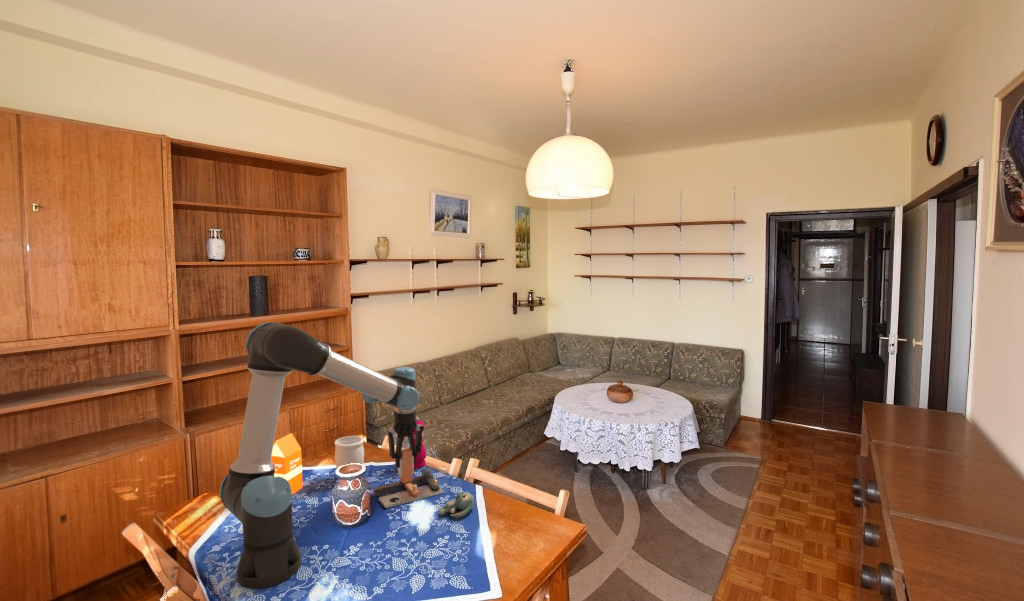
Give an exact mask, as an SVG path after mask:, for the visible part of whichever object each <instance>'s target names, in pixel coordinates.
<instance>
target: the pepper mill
mask: <svg viewBox="0 0 1024 601" xmlns="http://www.w3.org/2000/svg"><path fill="white" fill-rule="evenodd" d="M416 423H417V424H418V425H419V424H420V425H422V426H423V427H424V429H423V431H422V438H423V437H424V436H425V435H424V431H425V427H426V426H425V422H423V421H422V420H420V418H419V416H416ZM416 431H417V430H416V429H415V430H414V432H413V436H414V438H413V439H414V444H415V449H416ZM426 458H427V450H426V447H425V445H424V442H423V439H422V443H421V452H420V453H418V454H417V456H416V464H414V470H415V469H416V470H417V468H419V469H422V468H423V469H424V467H425V466H426Z"/></svg>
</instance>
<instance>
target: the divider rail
mask: <svg viewBox="0 0 1024 601" xmlns="http://www.w3.org/2000/svg"><path fill="white" fill-rule="evenodd" d="M410 482H411V484H412V485H417V487H419V486H418V485H420V486H423V485H422V484H424V485H426V484H425V483H428V484H427V485H430V486H431V487H432V488H433V489H434V490H435V489H438V488H439V486H440V485H439V484H438V479H436V478H434V475H433V473H431V470H430V469H428V468H426V469H421V475H419V476H415V477H412V481H410ZM406 483H409V482H406ZM403 489H404V490H408V489H407V488H406V487H405V483H402V481H401V480H398V481H397V482H390V483H387V484H383V485H380V486H376V487H373V488H372V496H373V497H374V498H377V497H381V496H385V495H388V494H387V493H389V494H392V493H391V492H393V493H396V492H395V491H397V492H400V491H399V490H401V491H404V490H403ZM384 494H385V495H384ZM380 495H381V496H380ZM376 496H377V497H376Z"/></svg>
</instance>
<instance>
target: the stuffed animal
mask: <svg viewBox="0 0 1024 601" xmlns="http://www.w3.org/2000/svg"><path fill="white" fill-rule="evenodd" d="M474 506H475V497H474V495H473V494H471V493H470V492H469V491H467V490H466V491H461V492H460V491H456V495H455V498H453V499H450V500H449V501H448V500H447V502H446V503H445V504H444V506H440V507H438V513H440V515H441V516H443V515H445V514H446V513H450V514H449V517H450V518H455V519H457V518H458V519H460V518H463V517H465V516H466V515H467V514H468V513H469V512H470V511H471V510H472V509H473V508H474ZM457 509H458V510H459V511H457V512H456V510H457Z"/></svg>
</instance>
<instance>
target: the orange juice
mask: <svg viewBox="0 0 1024 601" xmlns="http://www.w3.org/2000/svg"><path fill="white" fill-rule="evenodd" d="M271 461H272V462H273V463H274V464H275V466H276V467H275V473H274V477H277V476H279V477H282V478H284V479H286V480H287V481H288V482H289V483H290V486H291V491H292V495H294V494H295V493H297V492H298V491H300V490H301V489H303V462H302V461H303V458H302V447H301V446H300V444H299V443H298V441H297V439H296V437H295V435H294V434H293V433H292V432H291V433H289V434H286V435H284V436H283V437H281V438H279V439H277V440H274V445H273V450H272V456H271Z"/></svg>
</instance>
